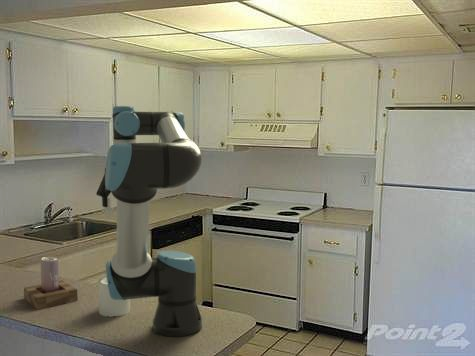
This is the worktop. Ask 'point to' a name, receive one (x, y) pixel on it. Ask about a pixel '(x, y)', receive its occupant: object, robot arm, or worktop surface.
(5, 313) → the worktop surface
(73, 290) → the socket block
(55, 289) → the beverage can
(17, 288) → the worktop surface
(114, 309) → the mug
